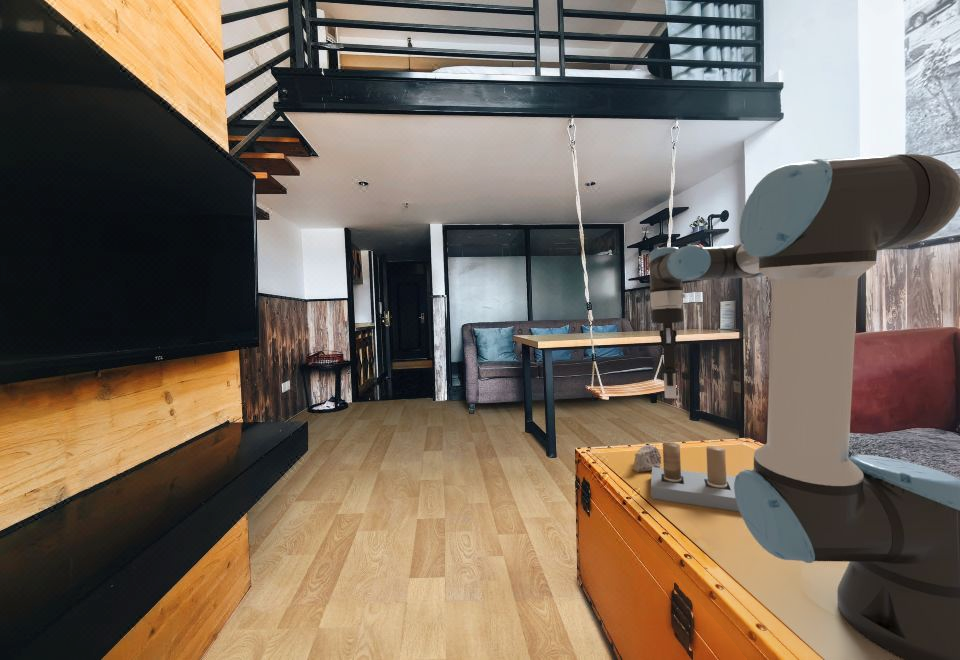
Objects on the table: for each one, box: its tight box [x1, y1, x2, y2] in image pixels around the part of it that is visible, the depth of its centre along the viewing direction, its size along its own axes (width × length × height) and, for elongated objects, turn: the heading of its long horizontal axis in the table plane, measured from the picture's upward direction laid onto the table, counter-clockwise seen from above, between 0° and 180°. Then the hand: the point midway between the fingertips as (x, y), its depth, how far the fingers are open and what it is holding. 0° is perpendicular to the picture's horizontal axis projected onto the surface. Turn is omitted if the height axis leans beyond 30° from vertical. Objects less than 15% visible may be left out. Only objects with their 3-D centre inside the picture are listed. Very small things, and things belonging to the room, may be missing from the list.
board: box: [650, 445, 740, 513], centre depth 96 cm, size 14×20×12 cm
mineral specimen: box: [632, 444, 662, 473], centre depth 114 cm, size 13×7×6 cm, turn 147°
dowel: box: [662, 442, 682, 484], centre depth 98 cm, size 4×4×12 cm
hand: (670, 397), depth 98 cm, fingers closed
